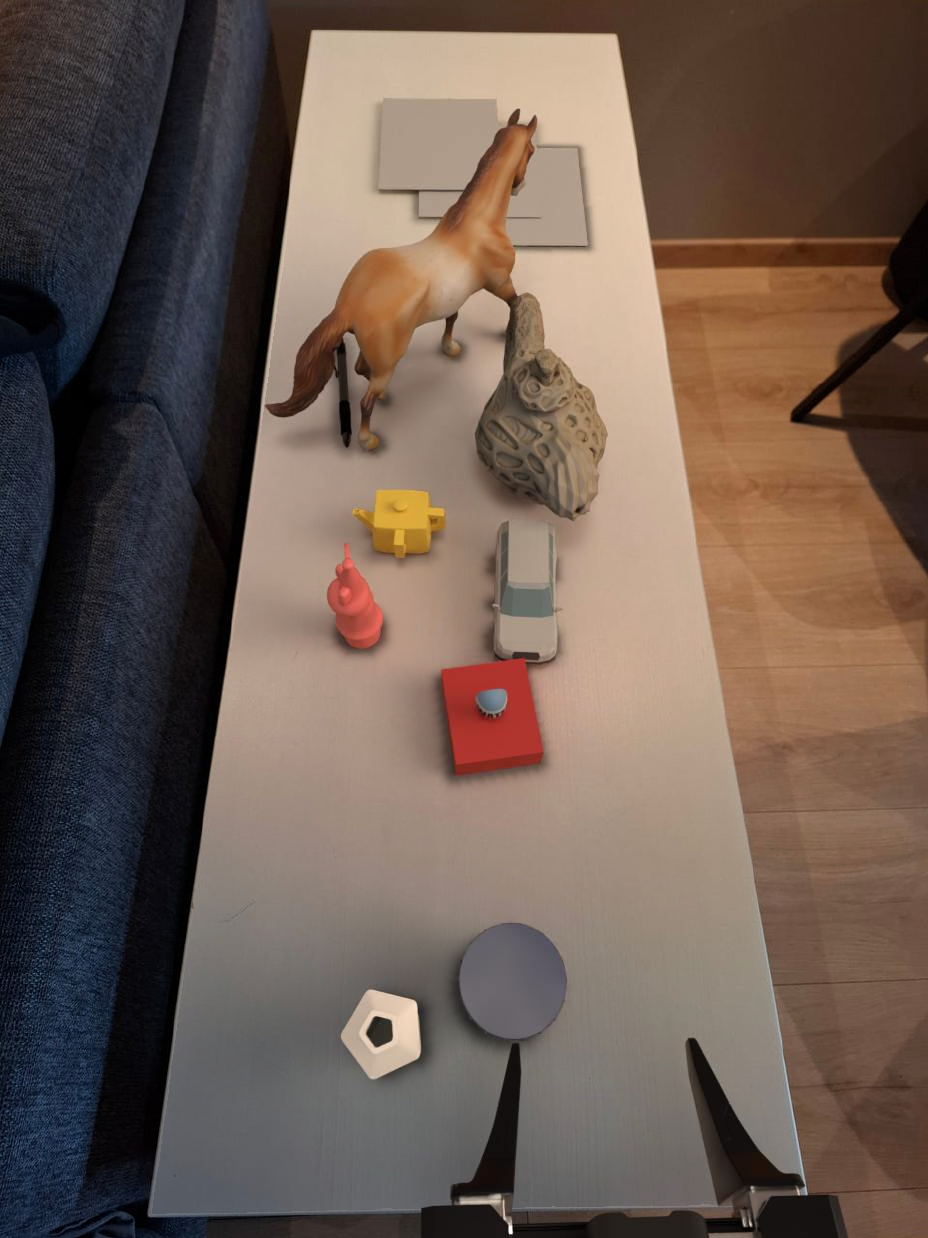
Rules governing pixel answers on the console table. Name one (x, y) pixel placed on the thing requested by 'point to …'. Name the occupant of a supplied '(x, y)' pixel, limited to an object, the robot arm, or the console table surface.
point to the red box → (491, 716)
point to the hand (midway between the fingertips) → (602, 1042)
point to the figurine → (354, 605)
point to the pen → (343, 394)
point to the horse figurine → (420, 282)
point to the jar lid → (512, 981)
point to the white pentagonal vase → (383, 1033)
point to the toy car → (525, 592)
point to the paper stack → (448, 158)
